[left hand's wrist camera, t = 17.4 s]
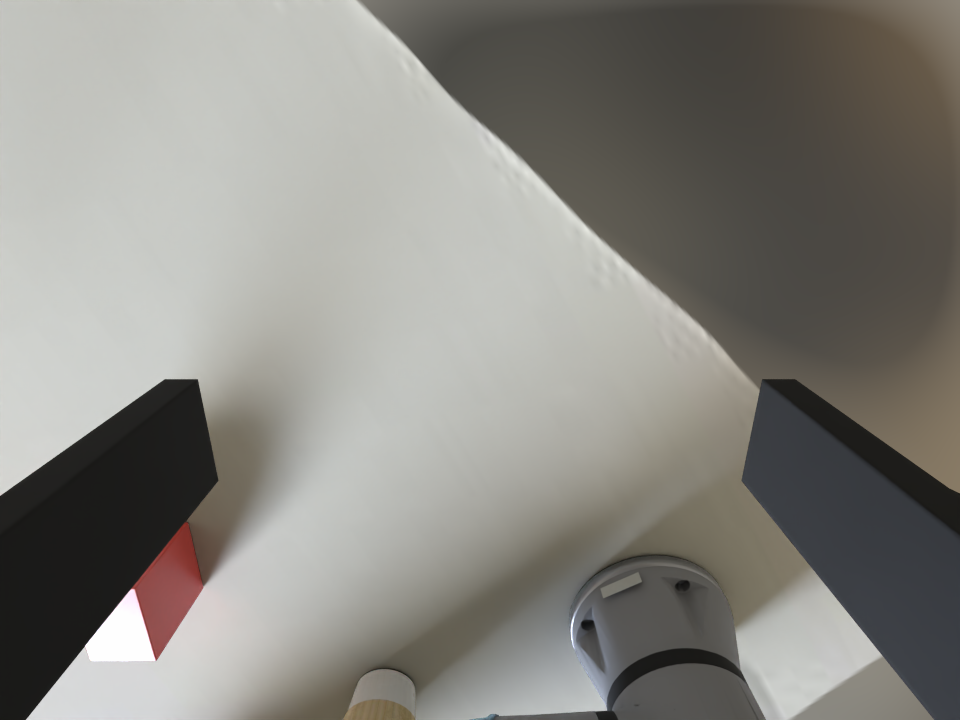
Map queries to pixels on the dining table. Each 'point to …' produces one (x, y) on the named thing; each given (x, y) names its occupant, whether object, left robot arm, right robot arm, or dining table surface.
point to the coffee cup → (383, 697)
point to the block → (151, 606)
